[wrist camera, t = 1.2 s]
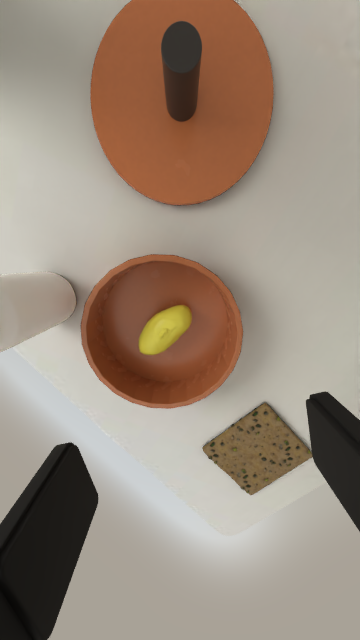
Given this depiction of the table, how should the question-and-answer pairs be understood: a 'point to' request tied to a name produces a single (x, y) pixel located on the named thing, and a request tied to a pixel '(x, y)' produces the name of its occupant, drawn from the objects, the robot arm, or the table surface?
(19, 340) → the can
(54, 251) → the table surface
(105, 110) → the lid
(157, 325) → the lemon
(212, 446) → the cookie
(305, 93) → the table surface
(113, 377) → the pot
